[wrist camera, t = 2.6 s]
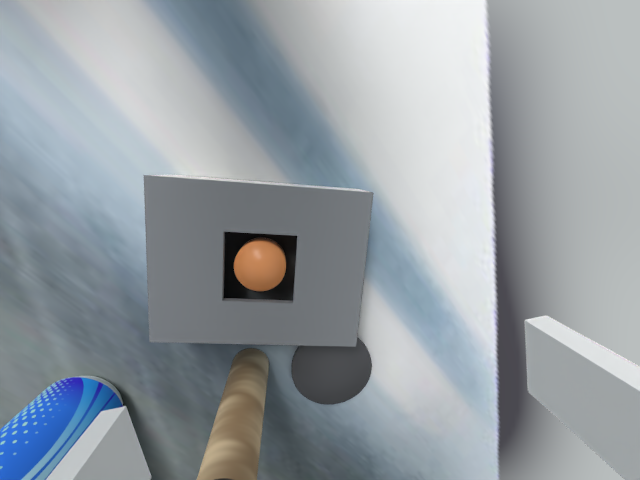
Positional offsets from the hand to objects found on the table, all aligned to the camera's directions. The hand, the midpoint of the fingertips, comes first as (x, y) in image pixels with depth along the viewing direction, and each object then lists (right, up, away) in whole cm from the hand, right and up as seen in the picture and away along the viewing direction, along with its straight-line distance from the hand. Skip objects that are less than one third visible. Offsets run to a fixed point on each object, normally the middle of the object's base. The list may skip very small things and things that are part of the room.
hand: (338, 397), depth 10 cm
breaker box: (-6, +4, +22) cm, 23 cm away
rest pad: (+1, -9, +25) cm, 27 cm away
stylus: (-8, -9, +25) cm, 27 cm away
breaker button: (-6, +3, +18) cm, 20 cm away
